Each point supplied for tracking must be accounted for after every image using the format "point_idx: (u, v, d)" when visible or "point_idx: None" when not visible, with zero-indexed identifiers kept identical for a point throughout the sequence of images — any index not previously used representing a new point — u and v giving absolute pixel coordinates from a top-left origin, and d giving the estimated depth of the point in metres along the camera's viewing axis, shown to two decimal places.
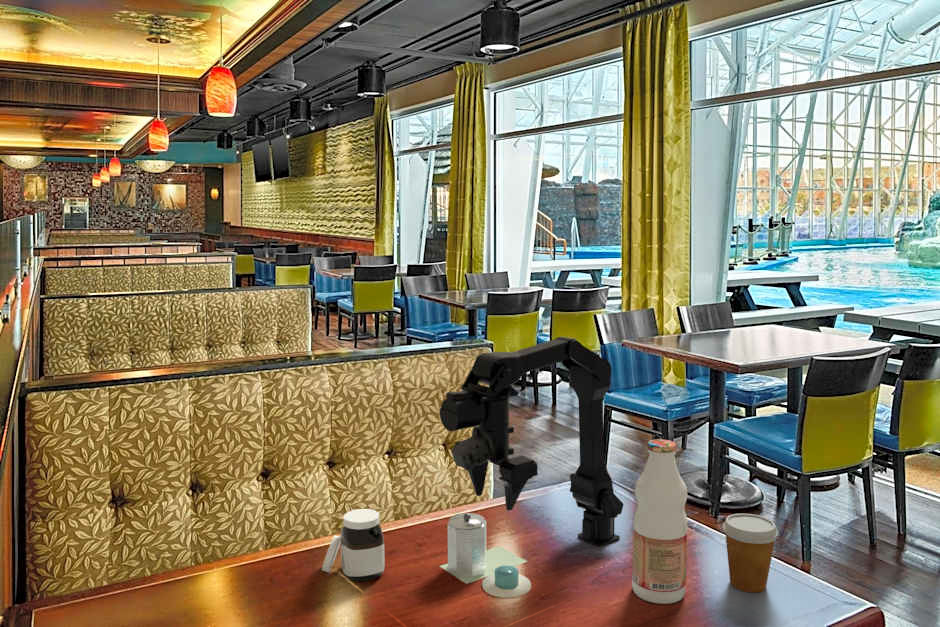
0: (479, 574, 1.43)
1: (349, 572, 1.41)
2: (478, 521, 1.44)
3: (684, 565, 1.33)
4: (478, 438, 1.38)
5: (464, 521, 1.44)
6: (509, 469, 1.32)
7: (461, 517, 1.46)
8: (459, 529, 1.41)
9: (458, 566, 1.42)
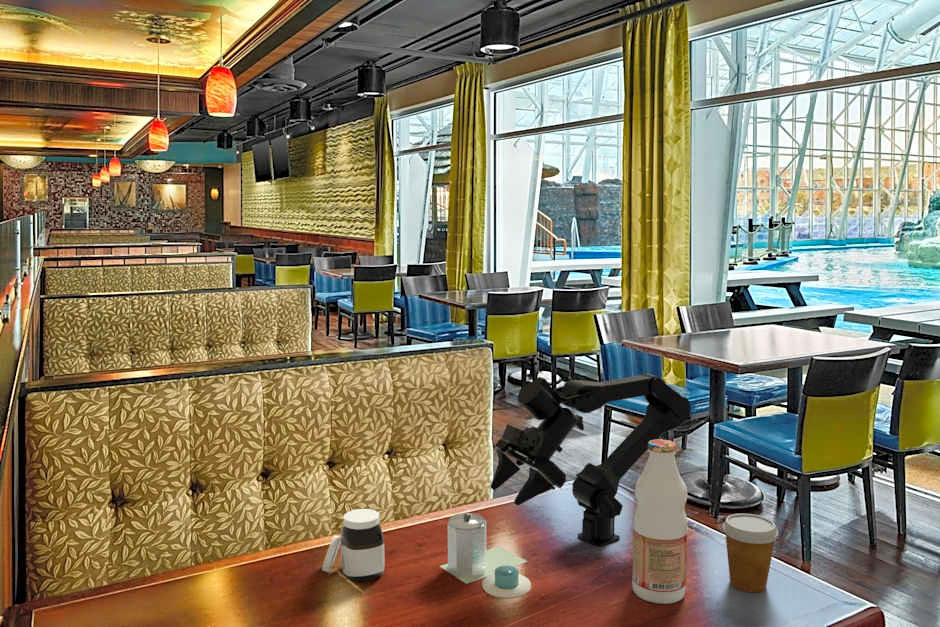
0: (479, 574, 1.43)
1: (349, 572, 1.41)
2: (478, 521, 1.44)
3: (684, 565, 1.33)
4: None
5: (464, 521, 1.44)
6: (545, 461, 1.42)
7: (461, 517, 1.46)
8: (459, 529, 1.41)
9: (458, 566, 1.42)
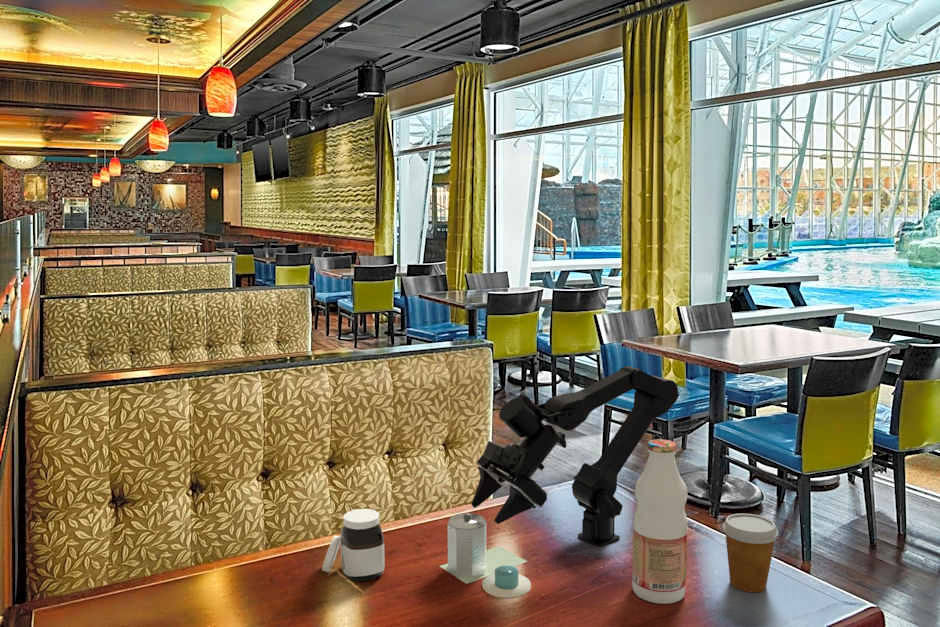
0: (479, 574, 1.43)
1: (349, 572, 1.41)
2: (478, 521, 1.44)
3: (684, 565, 1.33)
4: None
5: (464, 521, 1.44)
6: (526, 480, 1.40)
7: (461, 517, 1.46)
8: (459, 529, 1.41)
9: (458, 566, 1.42)
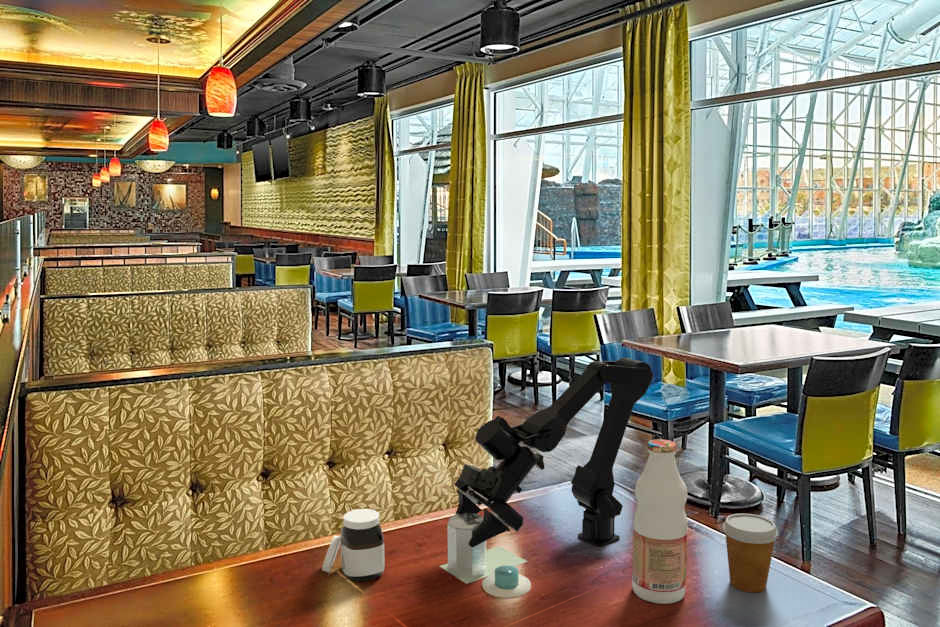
0: (479, 574, 1.43)
1: (349, 572, 1.41)
2: (478, 521, 1.44)
3: (684, 565, 1.33)
4: None
5: (464, 521, 1.44)
6: (502, 504, 1.38)
7: (461, 517, 1.46)
8: (459, 529, 1.41)
9: (458, 566, 1.42)
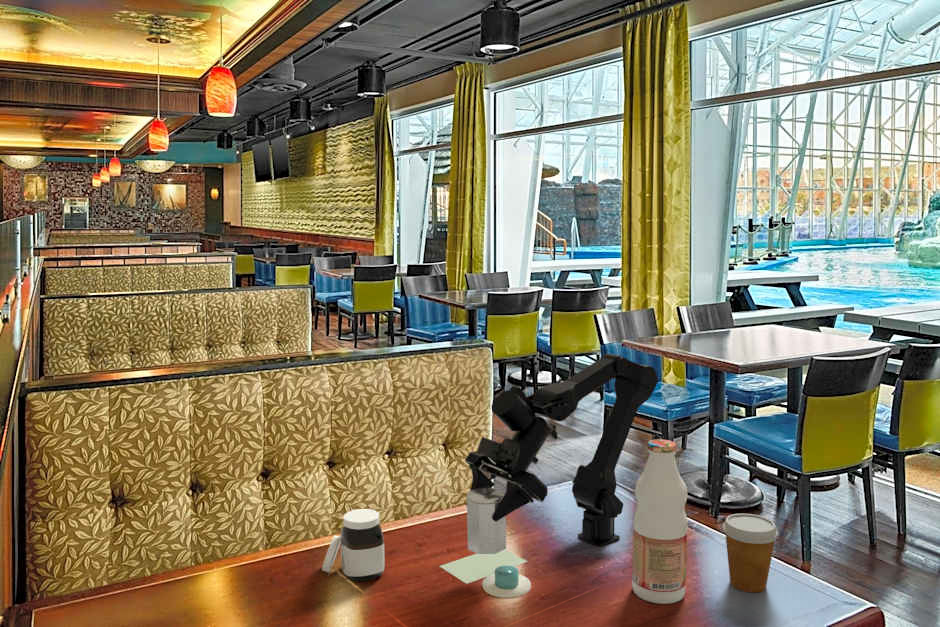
0: (501, 549, 1.39)
1: (349, 572, 1.41)
2: (498, 495, 1.40)
3: (684, 565, 1.33)
4: None
5: (484, 495, 1.39)
6: (527, 475, 1.35)
7: (479, 492, 1.41)
8: (481, 504, 1.37)
9: (480, 542, 1.38)
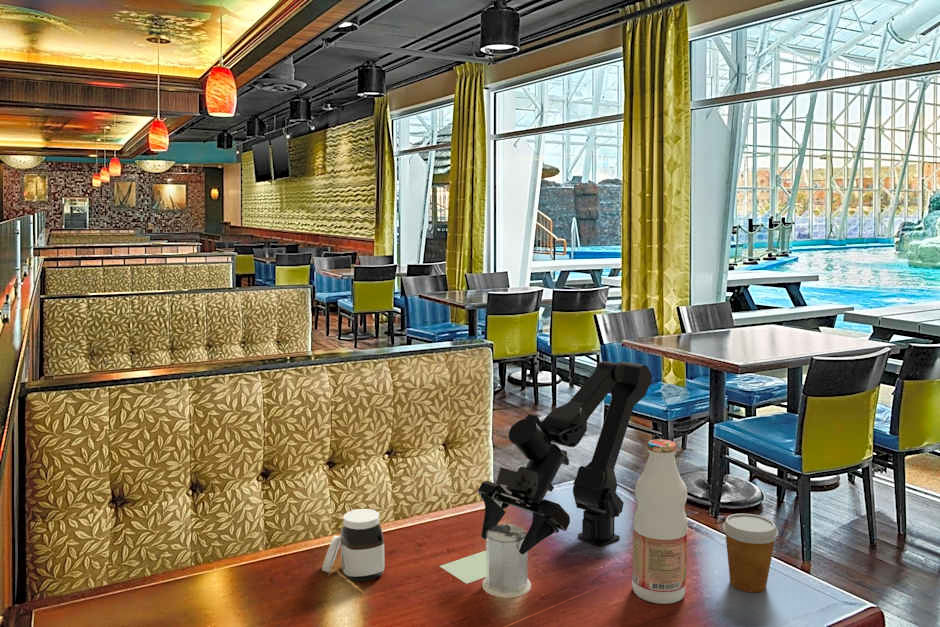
0: (523, 586, 1.37)
1: (349, 572, 1.41)
2: (519, 532, 1.38)
3: (684, 565, 1.33)
4: None
5: (505, 533, 1.37)
6: (552, 504, 1.34)
7: (498, 529, 1.39)
8: (505, 542, 1.35)
9: (504, 581, 1.35)
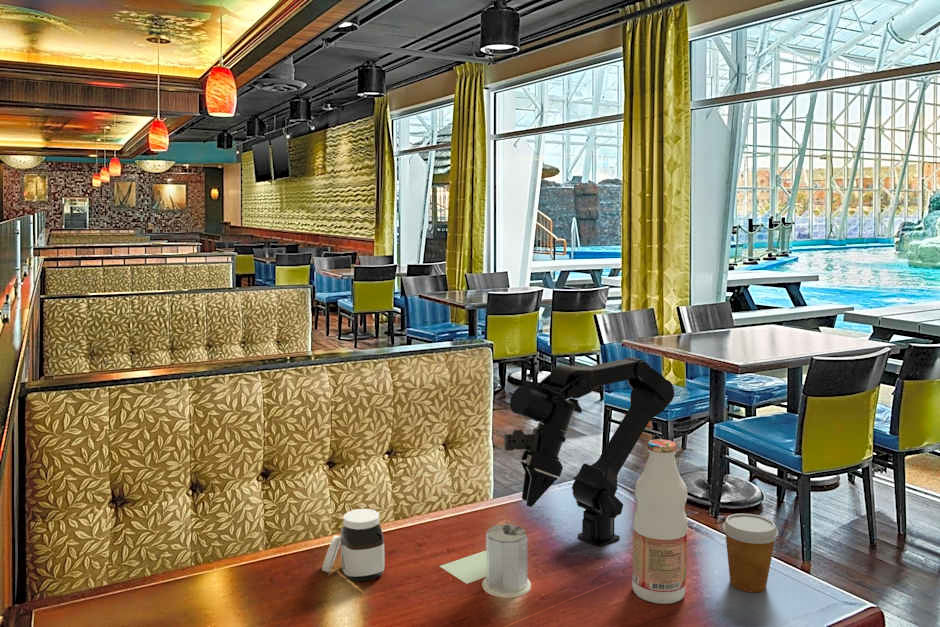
0: (523, 586, 1.37)
1: (349, 572, 1.41)
2: (519, 532, 1.38)
3: (684, 565, 1.33)
4: None
5: (505, 533, 1.37)
6: (532, 455, 1.41)
7: (498, 529, 1.39)
8: (505, 542, 1.35)
9: (504, 581, 1.35)
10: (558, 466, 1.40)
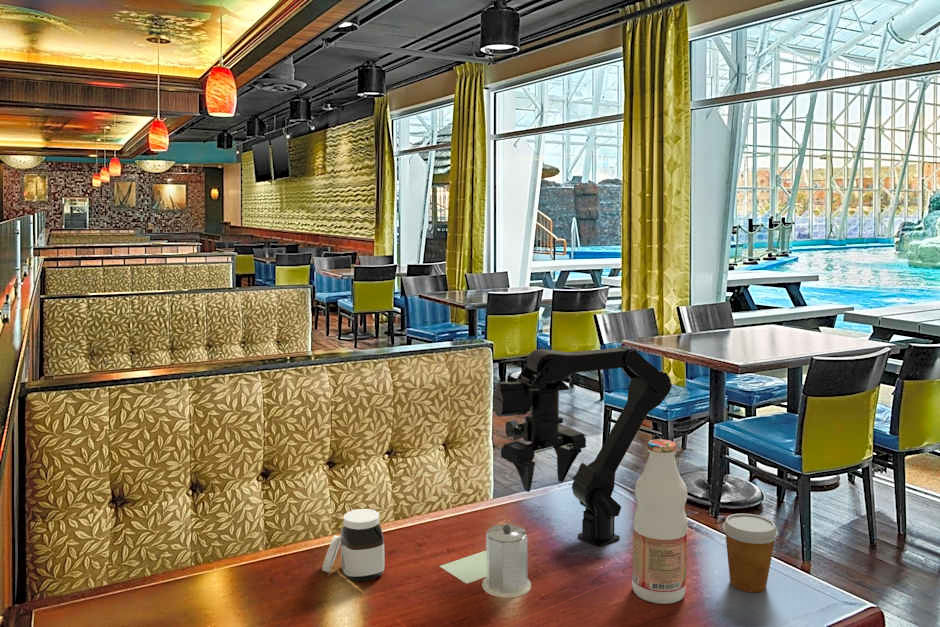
0: (523, 586, 1.37)
1: (349, 572, 1.41)
2: (519, 532, 1.38)
3: (684, 565, 1.33)
4: None
5: (505, 533, 1.37)
6: None
7: (498, 529, 1.39)
8: (505, 542, 1.35)
9: (504, 581, 1.35)
10: (516, 454, 1.46)
